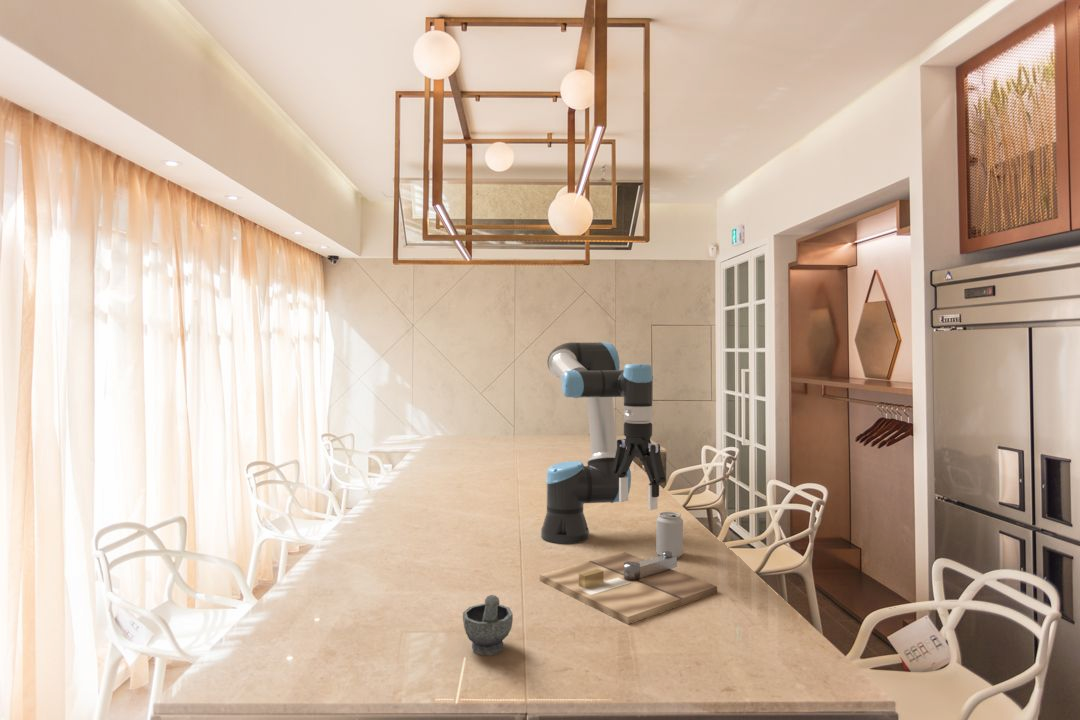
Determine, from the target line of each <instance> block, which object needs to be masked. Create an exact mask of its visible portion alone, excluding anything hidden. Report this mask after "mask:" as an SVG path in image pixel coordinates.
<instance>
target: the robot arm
mask: <svg viewBox="0 0 1080 720" xmlns="http://www.w3.org/2000/svg"><path fill="white" fill-rule="evenodd" d="M546 363H547V368H548V369H549V371H550V373H551V374H552V375H553V376H555V377H557V378H560V379H561V392H562V394H563V396H564V397H565V398H574V399H578V398H586V400H587V401H586V403H587V412H588V413H587V414H588V428H589V438H590V440H589V441H590V451H591V453H590V455H591V456H590V457H589V459H588V460H587V462H586V463H587V465H584V462H582V461H578V460H576V461H575V460H574V461H572V460H571V461H561V462H558V463H553V464H552V465H550V466H549V467H548V469H547V471H546V480H545V483H546V513H545V517H544V521H543V525H542V527H541V530H540V531H541V532H540V535H541V536H540V537H541V538H542V539H543V541H546V542H549V543H555V544H577V543H582V542H584V541H587V540H588V539H589V537H590V531H589V530H590V529H589V527H588V523H587V520H586V516H585V514H584V504H600V503H603V504H604V503H605V504H606V503H610V504H613V503H623V502H629V494H630V490H631V486H632V485H631V484H632V474H631V473H632V472H631V464H632V462H633V461H634V458H639V460H640V462H642V466H643V467H644V470H645V472H646V475H647V478H648V480H649V483H648V484H647V494H648V495H647V510H649V511H652V510H657V509H658V497H659V496H660V484H664V483H666V482H667V481H666V474H665V470H664V465H663V461H662V457H661V445H660V444H658V443H657V444H654V443H652V442H651V441H652V440H651V437H652V436H653V423H652V421H653V380H654V376H653V367H652V365H651V364H649V363H627V364H625V365H624V367H623V369H621V367H620V364H621V363H620V356H619V353H618V350H617V348H616V347H615V345H614V344H613V343H611V342H603V341H598V342H576V341H575V342H571V341H570V342H565V343H562V344H560V345H558V346H556V347H554V348H553V349H552V350H551V351H550V353H549V355H548V357H547V362H546ZM613 398H623V420H624V421H625V422H624V423H623V435H624V437H625V438H622V439H618V438H617V431H616V430H617V429H616V420H615V419H616V417H615V408H614V401H613V400H614V399H613Z"/></svg>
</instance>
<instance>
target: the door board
mask: <svg viewBox="0 0 1080 720" xmlns="http://www.w3.org/2000/svg"><path fill="white" fill-rule="evenodd" d="M643 560H645V559H644V558H641V557H639V556H636V555H633V554H631V553H629V552H625V551H624V552H621V553H617V554H614V555H613V554H612V555H610V556H609V555H608V556H605V557H601V558H597V559H594V560H589V561H586V562H582V563H578V564H574V565H571V566H567V567H563V568H559V569H555V570H551V571H548V572H543V573H539V581H540V582H542V583H543V584H546V585H548V586H550V587H551V588H554V589H556V590H558V591H559V592H561V593H564V594H566V595H567V596H570V597H572V598H574V599H576V600H578V601H579V602H582V603H584V604H586V605H588V606H590V607H592V608H593V609H596V610H598V611H600V612H602V613H604V614H606V615H608V616H610V617H612V618H614V619H616V620H618V621H620V622H621V623H624V624H626V625H630V623H631V624H633V623H636V622H639V621H642V620H644V618H645V619H647V618H649V617H653V616H656V615H659V614H661V612H662V613H665V612H667V611H669V609H670V610H673V609H676V608H678V607H681V606H683V605H686V604H689V603H692V602H696V601H698V600H702V599H704V598H706V597H709V596H712V595H714V594H718V586H717V585H715V584H713V583H711V582H707V581H704V580H701V579H698V578H696V577H693V576H691V575H688V574H685V573H683V572H680V571H677V570H674V569H673V568H672V569H669V570H666V571H662V572H659V573H656V574H652V575H649V576H646V577H642V578H640V579H639V580H637V581H629V580H626V579H624V563H625V562H629V561H633V562H640V561H643ZM672 608H673V609H672ZM666 610H667V611H666ZM658 613H659V614H658ZM638 620H639V621H638Z"/></svg>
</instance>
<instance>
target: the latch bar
mask: <svg viewBox="0 0 1080 720" xmlns="http://www.w3.org/2000/svg"><path fill="white" fill-rule="evenodd" d="M677 560H678V558H677V556H674V555H672V552H669V551H664V552H663V555H661V556H659V555H658V556H655V557H651V558H647V559H644V560H643V561H640V562H633V561H629V562H625V563H624V579H626V580H629V581H637V580H639V579H640V578H642V577H646V576H649V575H652V574H656V573H659V572H662V571H666V570H669V569H672V570H673V569H675V568H678V561H677Z"/></svg>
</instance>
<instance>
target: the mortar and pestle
mask: <svg viewBox="0 0 1080 720" xmlns="http://www.w3.org/2000/svg"><path fill="white" fill-rule="evenodd" d="M462 622H463V628H464V631H465V634H466V635H467V638H468V640H469V641H470V642H472V643H471V649H472V652H473V653H475V654H476V655H479V656H493V655H497V654H500V653H501V652H502V651H503V650H504V640H505V639H506V638H507V636H508V635H509V633H510V632H511V630H512V626H513V622H514V621H513V611H512V610H511V607H508V606H505V605H502V604H501V603H500V598H499V597H498V596H497V595H494V594H490V595H488V596H486V597H485V599H484V603H480V604H476V605H472V606H471V605H470V606H469V607H468V608H466V609H465V610H464V611H463V612H462Z"/></svg>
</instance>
